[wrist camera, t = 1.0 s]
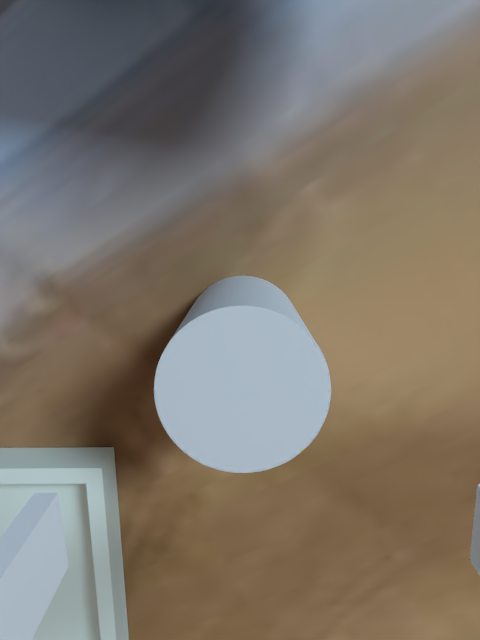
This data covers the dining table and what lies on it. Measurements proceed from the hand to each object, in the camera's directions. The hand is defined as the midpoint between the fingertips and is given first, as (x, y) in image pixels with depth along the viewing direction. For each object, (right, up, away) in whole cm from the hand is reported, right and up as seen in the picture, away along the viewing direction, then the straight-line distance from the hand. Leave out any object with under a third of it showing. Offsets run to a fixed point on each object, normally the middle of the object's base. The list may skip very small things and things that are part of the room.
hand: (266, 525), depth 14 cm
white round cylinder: (-1, +6, +18) cm, 19 cm away
